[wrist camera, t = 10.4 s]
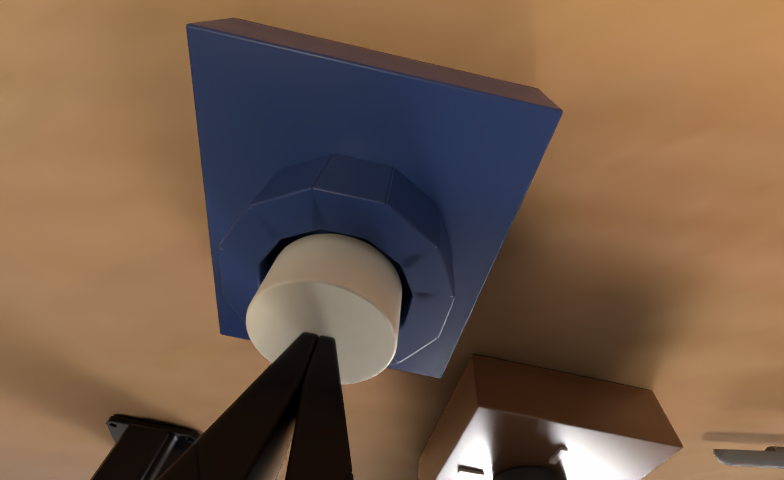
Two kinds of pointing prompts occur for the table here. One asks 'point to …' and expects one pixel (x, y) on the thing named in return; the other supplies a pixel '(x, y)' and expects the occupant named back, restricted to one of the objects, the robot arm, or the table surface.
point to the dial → (530, 474)
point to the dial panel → (546, 426)
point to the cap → (330, 303)
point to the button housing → (360, 168)
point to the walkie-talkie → (752, 457)
